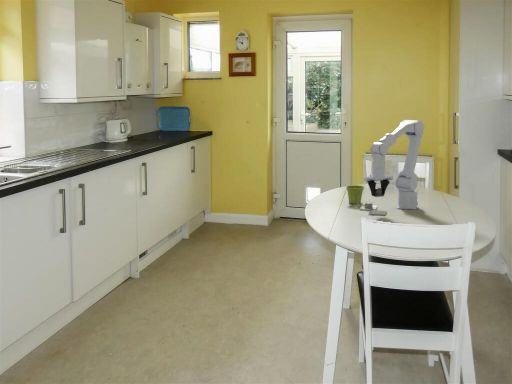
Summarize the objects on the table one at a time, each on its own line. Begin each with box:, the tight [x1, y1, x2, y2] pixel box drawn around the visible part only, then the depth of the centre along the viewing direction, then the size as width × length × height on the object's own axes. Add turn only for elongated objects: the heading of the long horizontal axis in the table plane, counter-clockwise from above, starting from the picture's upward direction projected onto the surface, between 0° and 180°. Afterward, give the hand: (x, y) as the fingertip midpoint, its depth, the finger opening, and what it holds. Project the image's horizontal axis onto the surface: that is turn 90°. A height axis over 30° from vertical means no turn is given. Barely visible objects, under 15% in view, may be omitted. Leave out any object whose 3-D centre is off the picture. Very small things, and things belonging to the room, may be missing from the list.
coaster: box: [368, 210, 387, 217], centre depth 272 cm, size 8×8×1 cm
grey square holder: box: [359, 201, 378, 211], centre depth 282 cm, size 8×8×3 cm
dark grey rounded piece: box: [373, 187, 385, 198], centre depth 271 cm, size 6×4×4 cm
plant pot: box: [345, 184, 365, 205], centre depth 296 cm, size 9×9×9 cm
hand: (377, 195), depth 270 cm, fingers closed on dark grey rounded piece, 4 cm apart
